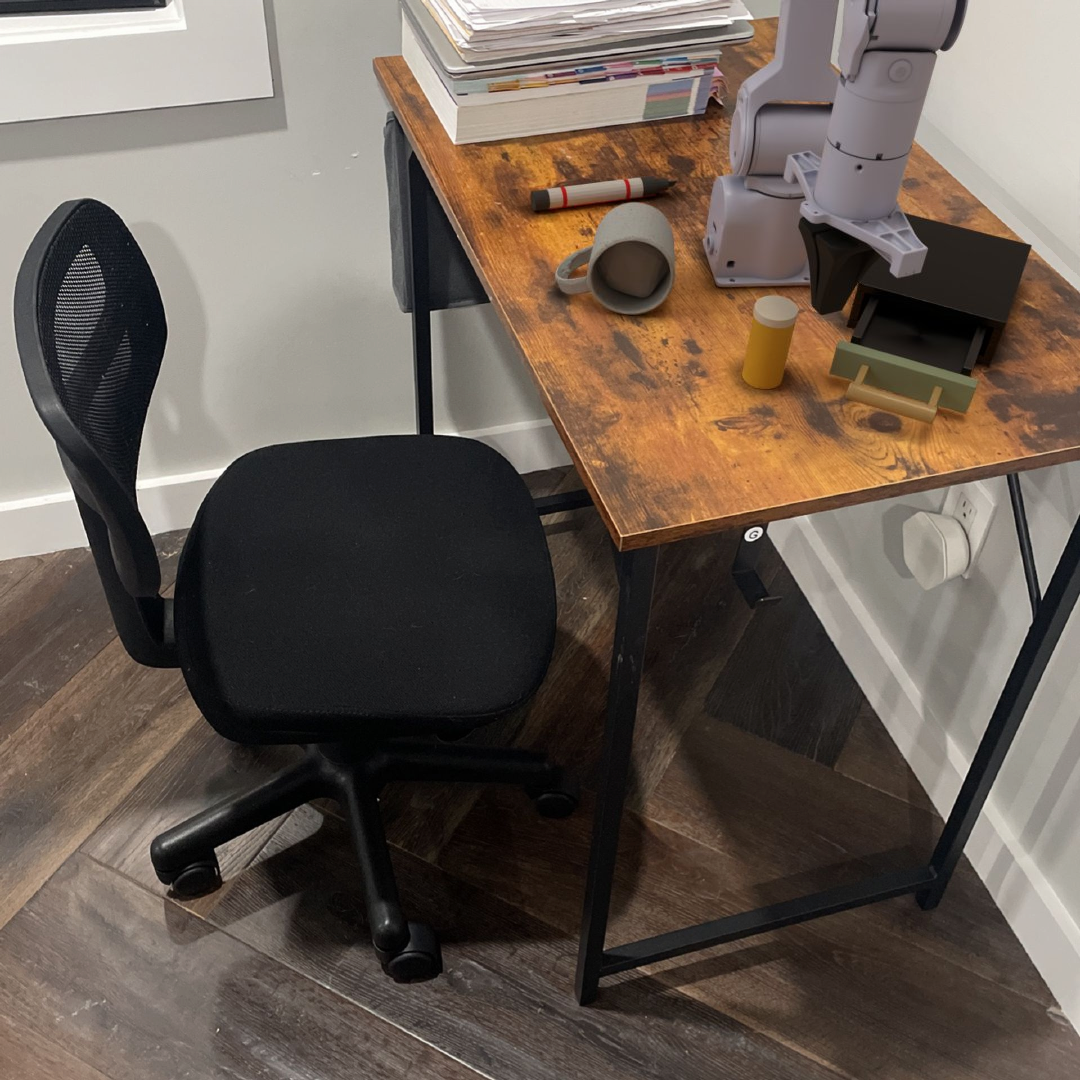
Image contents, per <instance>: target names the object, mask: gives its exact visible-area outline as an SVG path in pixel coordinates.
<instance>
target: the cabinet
mask: <svg viewBox="0 0 1080 1080" xmlns="http://www.w3.org/2000/svg"><path fill="white" fill-rule="evenodd" d="M903 213H904V215H905V216H906V218H907V220H908V222H909V224H910V226H911V227H912V229H913V231H914V233H915V235H916V236H917V238H918V239H919V240H920V241H921V242H922V243H923V244H924V245H925V246H926V247H927V248H928V251H927V254H926V257H925V260H924V263H923V266H922V270H921V272H920V273H916V274H913V275H909V276H904V277H900V278H896V277H895V276H894V275H893V274H892V273H891V272H890V267H891V264H890V263H889V262H888V261H887V260H886V259H885V258H883V257H882V256H881V257H880V258H879V259H878V260H877V261H876V262H875V263H874V264H873V265H872V266H871V267H870V269H869V270H868V271H867V272H866V273H865V275H864V276H863V277H862V279H861V280H860V281H859V283H858V284H857V286H856V291H855V293H854V294H855V295H854V299H853V302H852V306H851V308H850V314H849V317H848V319H847V324H846V327H848V328H851V329H854V330H855V328H856V326H857V324H858V322H859V320H860V318H861V316H862V314H863V312H864V310H865V308H866V305H867V303H868V301H869V299H870V297H871V295H876V296H880V297H883V298H887V299H891V300H894V301H898V302H902V303H905V304H909V305H913V306H916V307H920V308H923V309H927V310H931V311H934V312H938V313H942V314H945V315H949V316H953V317H956V318H960V319H964V320H967V321H971V322H975V323H978V324H982V325H986V326H988V327H987V330H986V333H985V336H984V339H983V342H982V344H981V347H980V350H979V353H978V356H977V359H976V362H975V364H978V365H982V366H985V367H990V366H991V364H992V361H993V358H994V356H995V354H996V351H997V348H998V347H999V343H1000V342H1001V338H1002V336H1003V333H1004V331H1005V328H1006V326H1007V323H1008V320H1009V317H1010V313H1011V310H1012V307H1013V304H1014V302H1015V298H1016V296H1017V292H1018V289H1019V286H1020V283H1021V280H1022V277H1023V274H1024V271H1025V268H1026V265H1027V263H1028V259H1029V256H1030V252H1031V249H1032V246H1033V245H1032V244H1030V243H1025V242H1022V241H1018V240H1014V239H1009V238H1006V237H1002V236H997V235H993V234H990V233H986V232H982V231H978V230H974V229H970V228H966V227H963V226H959V225H955V224H954V225H953V224H951V223H947V222H941V221H938V220H935V219H930V218H927V217H922V216H918V215H913V214H911V213H906V212H903Z"/></svg>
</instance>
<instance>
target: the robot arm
mask: <svg viewBox="0 0 1080 1080" xmlns="http://www.w3.org/2000/svg"><path fill="white" fill-rule="evenodd" d="M839 3H840V0H780V6H779V7H780V9H779V15H778V24H777V26H778V27H777V34H776V42H775V50H774V58H773V59H772V60H771V61H770V62H768V63H767V64H766V65H764V66H763V67H761V68H760V69H759V70H757V71H756V72H754V73H753V74H752V75H750V76H749V77H747V78H746V79H745V80H743V82H742V83H741V84H740V88H739V89H738V91H737V96H736V103H735V108H734V109H735V110H734V112H733V115H732V118H731V124H730V131H729V146H728V147H729V148H728V151H729V152H728V153H729V156H728V157H729V166H730V168H731V170H732V171H733V172H734V173H733V172H732V173H729V174H724V175H723V174H722V175H719V176H717V177H716V178H715V179H714V182H713V185H712V189H711V195H710V201H709V209H708V215H707V221H706V228H705V234H704V237H703V238H702V245H703V248H704V253H705V255H706V258H707V261H708V264H709V267H710V271H711V273H712V277H713V280H714V283H715V285H716V286H717V287H720V288H734V287H735V288H737V287H739V288H741V287H742V288H743V287H744V288H745V287H784V286H785V287H787V286H788V287H789V286H790V287H791V286H792V287H793V286H810V301H811V302H810V304H811V307H812V308H813V310H814V311H816V312H817V314H819V315H820V316H826V315H829V314H834V313H837V312H842V311H843V310H844V308H845V306H846V304H847V302H848V301H849V299H850V298H851V296H852V294H853V293H854V291H855V289H857V287H858V283H859V281H860V280H861V279H862V277H863V276H864V275H865V273H866V272H867V271H868V270H869V269H870V267H871V266H872V265H873V264H874V263H875V262H876V261H877V260H878V259H879V258H880V257H881V256H882V257H883V258H885V259H886V260H887V261H888V262H889V263H890V264H891V267H890V272H891V273H892V274H893V275H894V276H895V277H896V278H900V277H904V276H909V275H913V274H916V273H920V272H921V270H922V266H923V263H924V260H925V257H926V254H927V251H928V248H927V247H926V246H925V245H924V244H923V243H922V242H921V241H920V240H919V239H918V238H917V236H916V235H915V233H914V231H913V229H912V227H911V226H910V224H909V222H908V220H907V218H906V216H905V215H904V213H905V212H904V211H903V209H902V207H901V205H900V204H899V201H898V198H899V194H900V191H901V187H902V184H903V180H904V176H905V173H906V170H907V165H908V162H909V158H910V154H911V151H912V148H913V143H914V141H915V138H916V134H917V130H918V128H919V127H918V126H919V123H920V120H921V116H922V113H923V109H924V105H925V101H926V98H927V95H928V91H929V87H930V84H931V80H932V77H933V73H934V70H935V66H936V62H937V59H938V54H937V52H938V51H939V50H940V51H941V52H947V51H950V50H951V48H952V47H953V46H954V45H955V43H956V42H957V40H958V38H959V36H960V33H961V31H962V29H963V27H964V22H965V19H966V15H967V11H968V5H969V0H843V10H842V27H841V35H840V41H839V46H838V50H837V51H838V55H837V65H838V67H839V69H840V74H839V73H838V72H837V71H836V70H835V69H834V68H833V67H832V66H831V61H832V53H833V46H834V39H835V33H836V24H837V20H838V19H837V17H838V12H839ZM776 101H777V102H776ZM788 102H789V103H788ZM794 102H816V103H794ZM817 102H818V103H817Z"/></svg>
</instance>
